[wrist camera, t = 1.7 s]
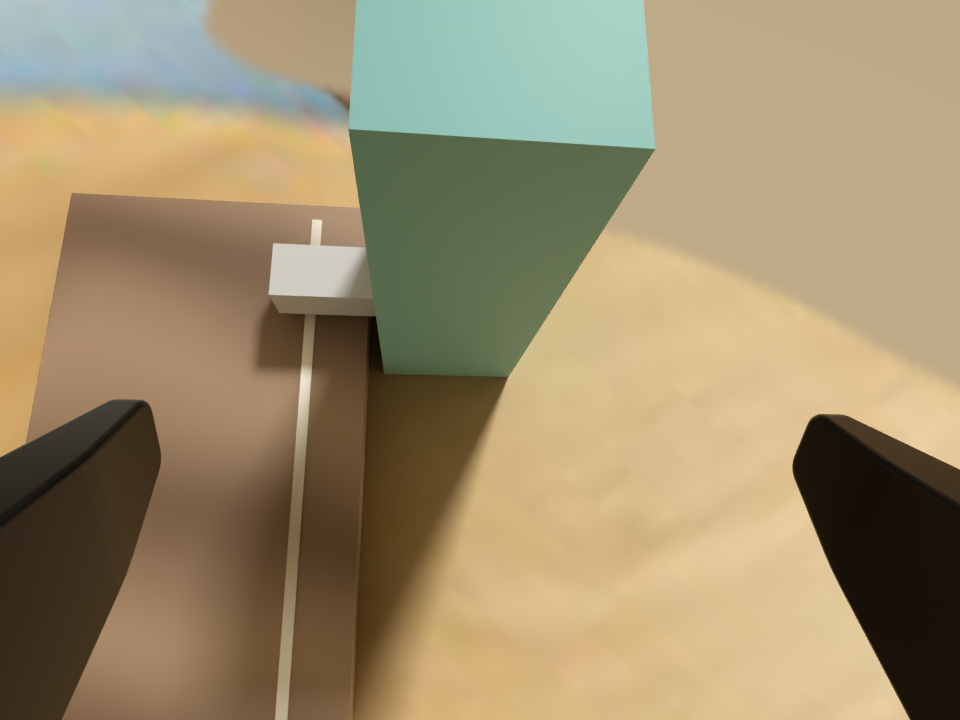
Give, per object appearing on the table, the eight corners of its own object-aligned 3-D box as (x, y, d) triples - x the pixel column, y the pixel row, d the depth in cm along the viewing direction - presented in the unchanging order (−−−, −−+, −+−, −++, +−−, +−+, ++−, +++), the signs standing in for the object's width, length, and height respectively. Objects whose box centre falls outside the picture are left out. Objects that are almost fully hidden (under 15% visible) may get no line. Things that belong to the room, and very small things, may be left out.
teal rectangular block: (508, 377, 21) (655, 148, 9) (288, 371, 20) (96, 112, 8) (506, 263, 22) (636, -89, 10) (297, 254, 21) (142, -140, 9)
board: (342, 937, 17) (336, 977, 15) (-33, 962, 16) (-79, 1007, 14) (375, 230, 22) (373, 207, 20) (94, 216, 21) (70, 192, 19)
